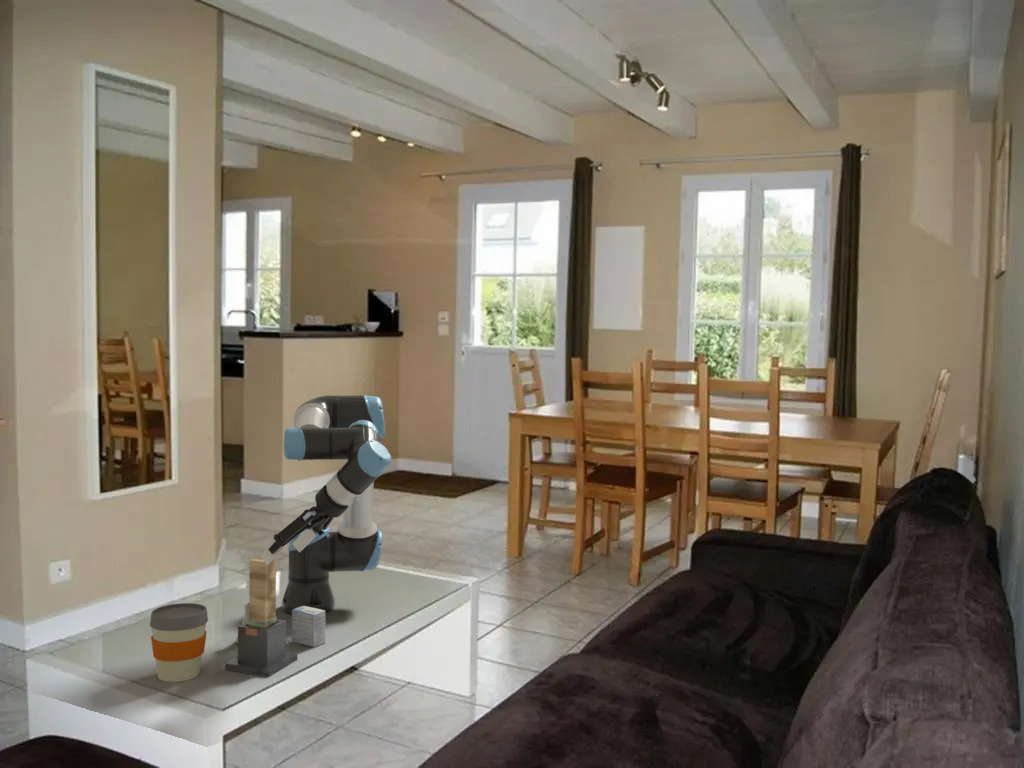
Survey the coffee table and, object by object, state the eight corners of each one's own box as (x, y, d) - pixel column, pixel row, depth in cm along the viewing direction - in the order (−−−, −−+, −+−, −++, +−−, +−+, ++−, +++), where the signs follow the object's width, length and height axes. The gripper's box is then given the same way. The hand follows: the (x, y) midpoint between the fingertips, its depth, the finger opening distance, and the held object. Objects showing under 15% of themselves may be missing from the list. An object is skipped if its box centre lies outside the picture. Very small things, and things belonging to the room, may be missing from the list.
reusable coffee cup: (138, 682, 200) (138, 616, 199) (169, 663, 212) (169, 601, 212) (189, 687, 198) (189, 620, 197) (217, 667, 210) (218, 604, 210)
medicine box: (325, 643, 229) (326, 610, 229) (313, 648, 225) (314, 614, 225) (303, 637, 233) (303, 605, 233) (291, 642, 229) (291, 609, 229)
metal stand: (254, 653, 220) (255, 613, 220) (297, 659, 216) (297, 619, 216) (225, 669, 209) (225, 627, 208) (269, 676, 205) (270, 633, 205)
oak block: (259, 629, 215) (260, 556, 214) (276, 631, 214) (277, 557, 213) (248, 635, 211) (248, 560, 210) (265, 637, 209) (265, 562, 209)
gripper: (319, 516, 192) (259, 578, 197) (372, 498, 215) (317, 554, 221) (298, 490, 193) (239, 552, 198) (353, 475, 217) (299, 531, 222)
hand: (280, 553), depth 210 cm, fingers open, 13 cm apart
